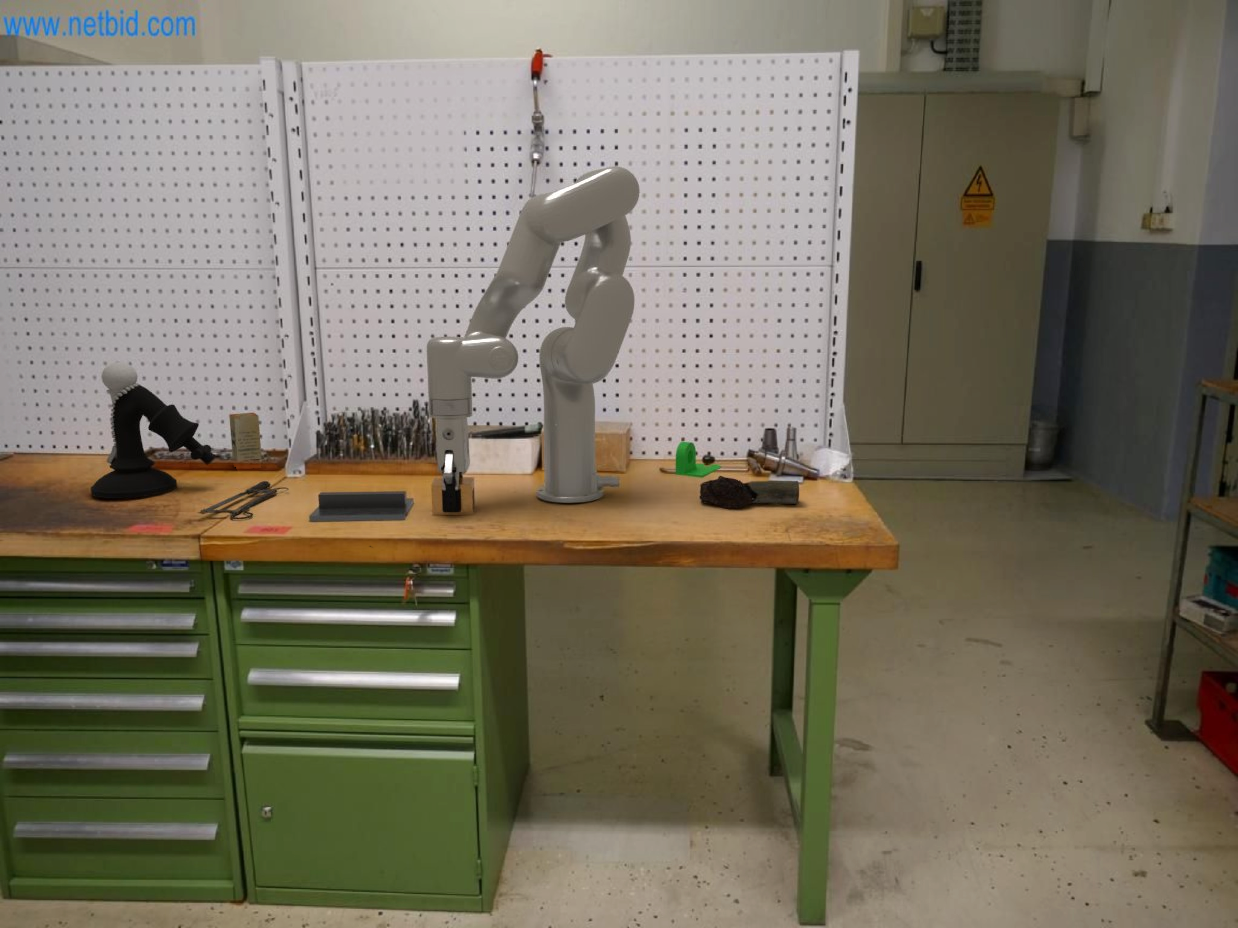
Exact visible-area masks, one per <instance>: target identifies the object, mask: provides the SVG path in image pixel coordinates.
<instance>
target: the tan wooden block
mask: <svg viewBox="0 0 1238 928" xmlns="http://www.w3.org/2000/svg"><path fill="white" fill-rule="evenodd" d="M433 479H434V480H433V482H432V483H431V485H430V487H431V488H430V489H431V513H432V515H431V516H472V515H474V508H476V499H475V498H476V493H475V491H476V490H475V477H473V476H470V477H467V476H466V477H465V476H463V477H459V489H461V511H460V512H443V509H442V490H443V477H434V478H433Z"/></svg>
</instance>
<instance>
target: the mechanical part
mask: <svg viewBox="0 0 1238 928" xmlns="http://www.w3.org/2000/svg"><path fill="white" fill-rule="evenodd" d="M696 450H697V449H696V446H695V444H694V443H693V442H689V441H681V442H680V443H678V446H677V448H676V453H675V475H677V476H686V477H693V478H694V477H695V478H704V477H707V476H708V475H710V474H712V473H713V472H715V471H718V470H719V469H721V468H722V465H720V464H713V463H712V464H713V465H709V466H706V465H704V464H705V463H696V461H697V460H696V459H697V457H696V456H697V451H696Z"/></svg>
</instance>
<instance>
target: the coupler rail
mask: <svg viewBox="0 0 1238 928" xmlns="http://www.w3.org/2000/svg"><path fill="white" fill-rule="evenodd" d="M317 496H318V506H317V507H316V509H314V511H312V512H311V513H310V514H309V516H308V517H309V518H308V519H309V522H352V521H354V522H355V521H356V522H358V521H359V522H361V521H362V522H363V521H364V522H365V521H369V522H370V521H404V520H405V519H406V518H407V516H408V514H409V513H410V511H411V509H412V507H413V506H414V504H415V503H414V502H415V501H414V500H415V499H414V498H412V497H410V498H409V497H407V491H406V490H405V491H402V490H401V491H400V490H399V491H398V490H397V491H396V490H395V491H392V490H391V491H387V490H385V491H384V490H383V491H324V492H323V491H321V492H320V493H319V494H318V495H317Z"/></svg>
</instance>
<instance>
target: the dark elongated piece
mask: <svg viewBox="0 0 1238 928" xmlns="http://www.w3.org/2000/svg"><path fill="white" fill-rule="evenodd" d="M699 487H700V489H699V496H698V497H699V500H700V502H701V503H705V504H706V505H714V506H717V507H723V508H725V509H727V510H732V509H735V510H741V509H743V508H745V507H746V506H748V505H749V504H751V503H752V504H781V505H782V504H783V505H796V504H797V505H798V504H799V500H800V483H799V481H798V480H761V481H760V480H753V481H752V480H751V481H748V482H744V483H743V482H742V481H741V480H739V479H736V478H733V477H726V476H725V477H724V476H722V475H719V476H718V477H717V478H716V479H709V480H707V481H704V482H702V483H700V486H699Z"/></svg>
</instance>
